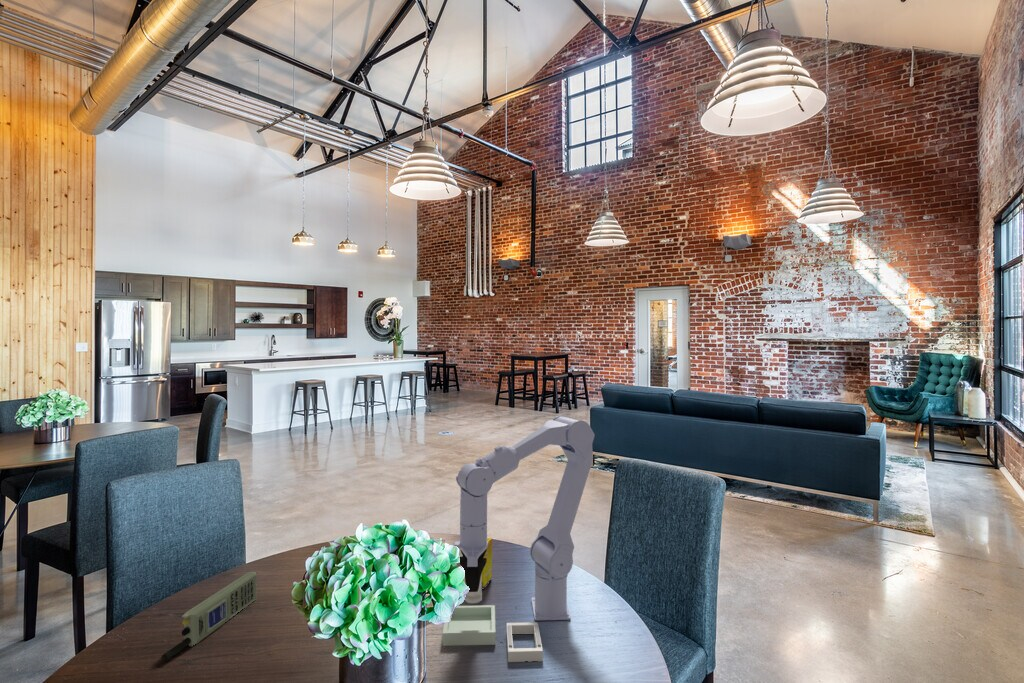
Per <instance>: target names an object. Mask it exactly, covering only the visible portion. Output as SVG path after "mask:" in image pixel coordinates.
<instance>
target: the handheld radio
mask: <svg viewBox="0 0 1024 683" xmlns="http://www.w3.org/2000/svg"><path fill="white" fill-rule="evenodd" d="M257 580H258V579H257V572H256V571H249V572H247V573H245V574H243V575H242V576H240V577H239V578H237V579H236V580H234V581H233V582H231V583H229V584H228V585H226V586H224V587H223V588H221V589H220V590H219V591H216V592H215V593H214V594H212V595H211V596H209V597H208V598H206V599H205V600H203V601H201V602H200V603H198V604H196V605H195V606H193V607H192V608H190V609H189V610H187V611H186V612H184V614H183V615H181V618H183V620H182V625H183V627H184V628H183V629H182V630H181V635H182V636H183V637H184V639H183V640H182V641H181V642H178V644H176V645H175V646H173V647H172V648H171V649H169V650H168V651H166V652H164V653H163V654H162V655H161V659H162V660H163V661H164V662H165V661H168V660H169V659H170V658H172V657H173V656H175V655H176V654H177V653H179V652H181V651H182V650H183V649H184V648H185V647H194V646H196V645H197V644H199V643H200V642H202V640H204V639H205V638H207V637H208V636H209V635H211V634H212V633H213V632H215V631H216V630H217V629H219V628H220V627H222V626H224V624H226V623H227V622H228V621H230V620H231V619H232V618H234V617H236V615H238V614H239V613H240V611H241V610H242V609H243V610H245V609H246V608H247V607H249V606H250V605H251V604H253V603H254V602H255V601H257V600H258V585H257V582H258V581H257ZM256 599H257V600H256ZM253 601H254V602H253ZM252 602H253V603H252ZM249 604H250V605H249ZM248 605H249V606H248ZM245 607H246V608H245ZM244 608H245V609H244ZM243 610H242V611H243ZM242 611H241V612H242ZM238 612H239V613H238ZM237 613H238V614H237ZM233 616H234V617H233ZM229 619H230V620H229ZM225 622H226V623H225ZM195 644H196V645H195ZM187 645H189V646H187ZM193 645H194V646H193Z"/></svg>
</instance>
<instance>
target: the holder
mask: <svg viewBox="0 0 1024 683" xmlns="http://www.w3.org/2000/svg"><path fill="white" fill-rule="evenodd" d="M539 627H540V626H539V623H538V622H532V621H531V622H528V621H527V622H506V643H507V646H506V647H507V662H508V663H526V662H525V661H528V662H532V661H538V662H543V661H544V660H543V659H544V656H543V655H544V653H543V652H544V650H543V644H542V638H541V634H540V628H539ZM512 634H534V635H533V642H534V641H535V642H534V646H535V647H517V648H515V647H514V642H513V641H514V639H513V635H512ZM528 662H527V663H528Z"/></svg>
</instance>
